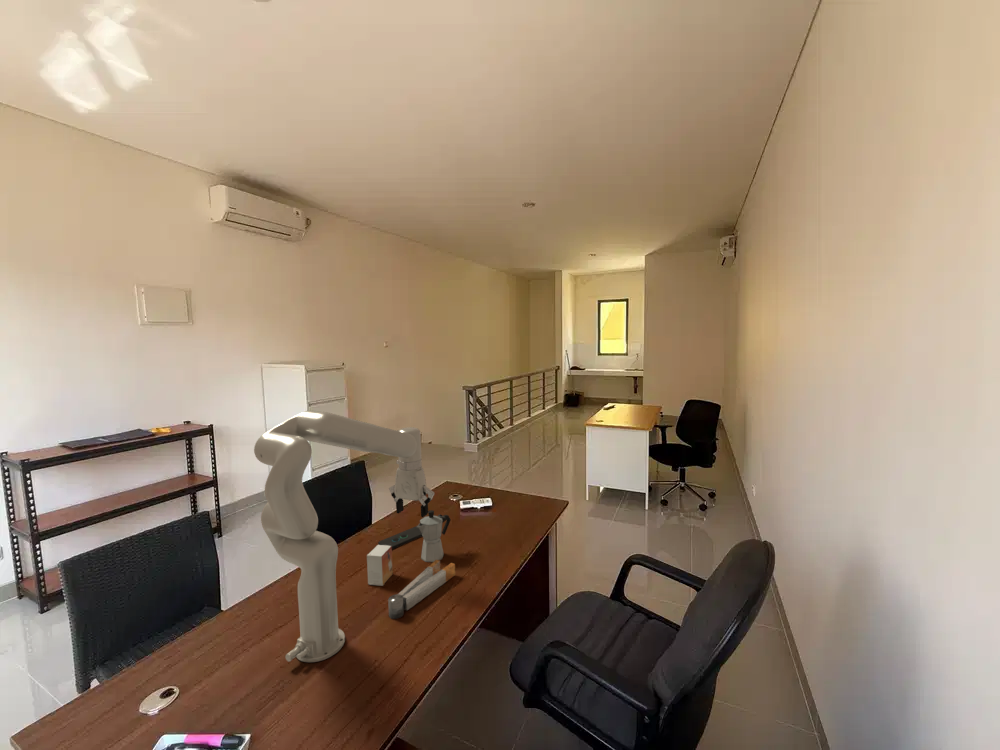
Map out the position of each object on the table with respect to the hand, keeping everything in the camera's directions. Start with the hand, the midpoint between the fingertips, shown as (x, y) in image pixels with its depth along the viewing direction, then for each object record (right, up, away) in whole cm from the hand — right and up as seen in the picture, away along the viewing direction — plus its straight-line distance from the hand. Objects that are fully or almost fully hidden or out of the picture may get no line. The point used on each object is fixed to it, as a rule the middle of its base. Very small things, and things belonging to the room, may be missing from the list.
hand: (412, 513), depth 147 cm
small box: (-12, -24, +4) cm, 27 cm away
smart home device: (-10, -22, +34) cm, 42 cm away
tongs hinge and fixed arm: (+3, -24, -5) cm, 25 cm away
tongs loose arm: (+7, -24, -4) cm, 25 cm away
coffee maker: (+5, -23, +19) cm, 30 cm away
